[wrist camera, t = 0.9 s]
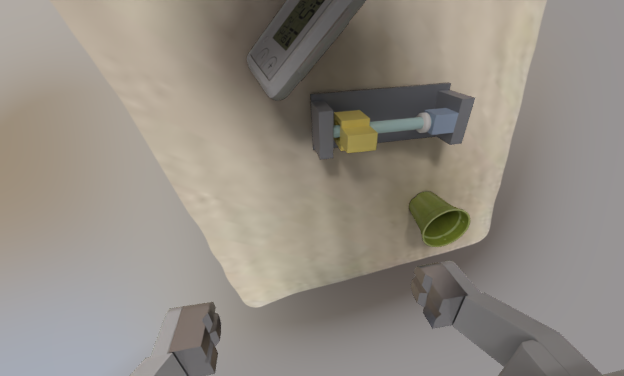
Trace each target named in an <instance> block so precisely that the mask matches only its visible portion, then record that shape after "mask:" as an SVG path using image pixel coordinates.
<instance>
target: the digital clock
mask: <svg viewBox="0 0 624 376" xmlns="http://www.w3.org/2000/svg"><path fill="white" fill-rule="evenodd" d="M365 1H366V0H286V2H285V3H284V5H283V6H282V7H281V9H280V10H279V12H278V13H277V14H276V16H275V17H274V19H273V20H272V21H271V23H270V24H269V26H268V27H267V28H266V30H265V31H264V32H263V34H262V35H261V37H260V38H259V39H258V41H257V42H256V44H255V45H254V47H253V48H252V49H251V51H250V52H249V54H248V56H247V63H248V66H249V69H250V70H251V72H252V73H253V75H254V76H255V78H256V79H257V81H258V82H259V84H260V85H261V87H262V88H263V90H264V91H265V93H266V94H267V95H268V96H269V97H270V98H271V99H273V100H283V99H285V98H286V97H287V96H288V95H289V94H290V92H291V91H292V90H293V89H294V88H295V87H296V85H297V84H298V83H299V82H300V81H302V80H303V78H304V77H305V76H306V75H307V74H308V72H309V71H310V70H311V69H312V67H313V66H314V65H315V64H316V63H317V61H318V60H319V59H320V58H321V57H322V55H323V54H324V53H325V52H326V50H327V49H328V48H329V47H330V46H331V44H332V43H333V42H334V41H335V40H336V38H337V37H338V36H339V35H340V33H341V32H342V31H343V30H344V29H345V27H346V26H347V25H348V22H349V21H350V20H351V19H352V17H353V16H354V15H355V14H356V12H357V11H358V10H359V9H360V8H361V6H362V5H363V4H364V3H365Z"/></svg>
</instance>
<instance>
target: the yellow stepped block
mask: <svg viewBox="0 0 624 376" xmlns="http://www.w3.org/2000/svg"><path fill="white" fill-rule="evenodd" d="M334 125H340V137H339V138H334V141H335V143H336V144H337V146H338V147H339V149H340V150H341V151H346V152H347V153H355V152H364V151H373V150H376V146H377V137H378V133H377V132H376V131H375V130H374V129H373V128H372V127H371V126H369V125H370V118H369V117H368V116H366V115H365V114H364V113H363V112H361V111H360V110H354V111H343V112H334Z"/></svg>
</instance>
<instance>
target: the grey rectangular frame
mask: <svg viewBox="0 0 624 376" xmlns="http://www.w3.org/2000/svg"><path fill="white" fill-rule="evenodd" d="M450 85H451V83H439V84H427V85H414V86H402V87H390V88H377V89H365V90H353V91H341V92H328V93H316V94H310V96H311V119H312V142H313V150H316V152H317V154H318V156H319V158H320V159H329V158H333V148H336V147H338V146H337V144H336V143H335V141H334V138H339V137H340V125H334V112H343V111H354V110H360V111H361V112H363V113H364V114H365V115H366V116H368V117H369V118H370V125H369V126H371V127H372V128H373V129H374V130H375V131H376V132H377V133H378V137H377V143H381V142H391V141H400V140H409V139H418V138H427V137H438V138H440V139H441V140H443V141H445V142H446V143H448V144H450V145H452V144H461V143H462V140H463V137H464V133H465V130H466V127H467V123H468V120H469V117H470V113H471V110H472V107H473V103H474V100H475V98H474V97H471V96H467V95H464V94H461V93H458V92H455V91H451V90H450Z"/></svg>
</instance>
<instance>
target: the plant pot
mask: <svg viewBox="0 0 624 376" xmlns="http://www.w3.org/2000/svg"><path fill="white" fill-rule="evenodd" d="M409 209H410V212H411V213H412V215H413V217H414V219H415V221H416V223H417V224H418V226H419V228H420V230H421V234H422V239H423V241H424V243H425V244H426V245H428V246H430V247H441V246H445V245H448V244H450V243H452V242H454V241H456V240H457V239H459V238H460V237H461V236H462V235H463V234H464V233H465V232H466V230H467V229H468V227H469V225H470V216H469V214H468V213H467V212H466V211H464V210H462V209H458V208H456V207H453V206H451V205H450V204H448V203H447V202H445V201H444V200H443V199H441V198H440V197H438V196H437V195H435V194H434V193H432V192H422V193H419V194H418V195H417V196H416V197H415V198H414V199H412V200H411V202H410V204H409Z"/></svg>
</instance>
